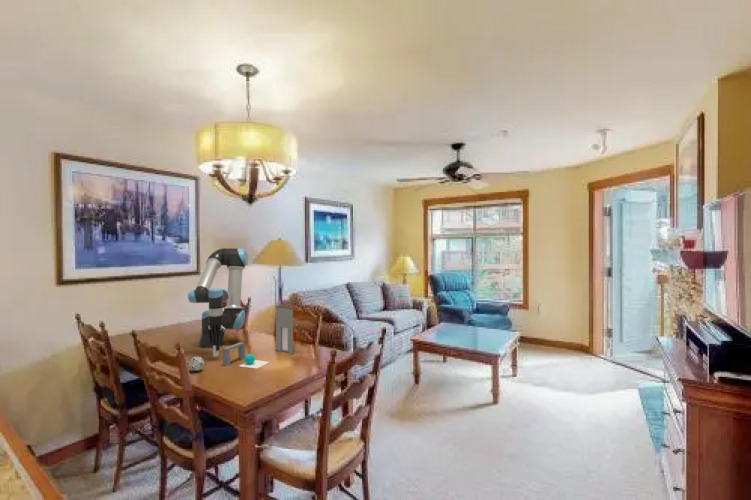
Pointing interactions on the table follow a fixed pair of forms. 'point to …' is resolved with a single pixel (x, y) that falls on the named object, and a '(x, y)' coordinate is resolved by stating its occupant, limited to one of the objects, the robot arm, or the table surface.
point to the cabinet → (284, 328)
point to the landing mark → (255, 364)
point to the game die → (196, 363)
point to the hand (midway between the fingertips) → (215, 355)
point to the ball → (249, 359)
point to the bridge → (227, 350)
